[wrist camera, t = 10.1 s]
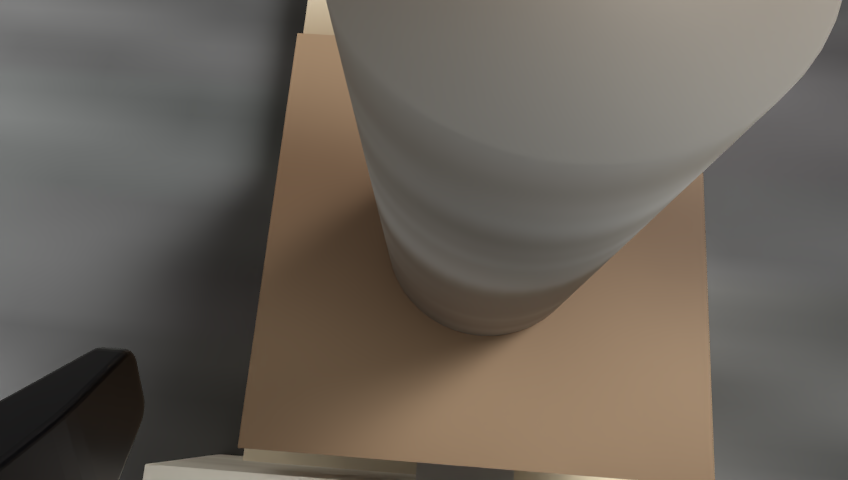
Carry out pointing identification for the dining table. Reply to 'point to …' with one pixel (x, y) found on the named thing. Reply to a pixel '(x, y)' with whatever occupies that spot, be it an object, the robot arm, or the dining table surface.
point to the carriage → (508, 229)
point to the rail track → (325, 474)
